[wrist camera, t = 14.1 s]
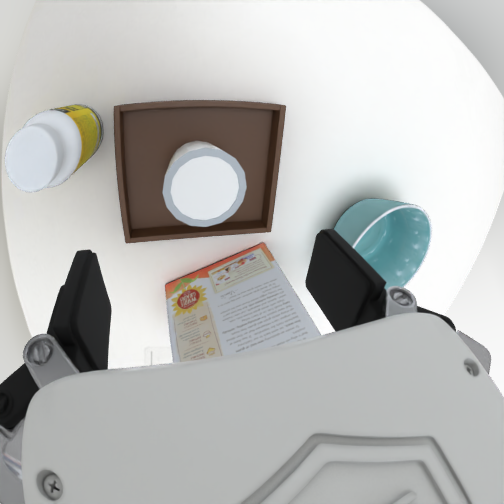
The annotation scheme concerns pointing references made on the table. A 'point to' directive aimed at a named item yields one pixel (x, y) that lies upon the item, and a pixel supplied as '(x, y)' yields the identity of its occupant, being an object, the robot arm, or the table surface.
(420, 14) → the table surface
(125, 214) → the tray
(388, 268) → the bowl
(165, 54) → the table surface
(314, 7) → the table surface
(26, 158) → the pill bottle
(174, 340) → the cracker box
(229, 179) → the white cylinder
